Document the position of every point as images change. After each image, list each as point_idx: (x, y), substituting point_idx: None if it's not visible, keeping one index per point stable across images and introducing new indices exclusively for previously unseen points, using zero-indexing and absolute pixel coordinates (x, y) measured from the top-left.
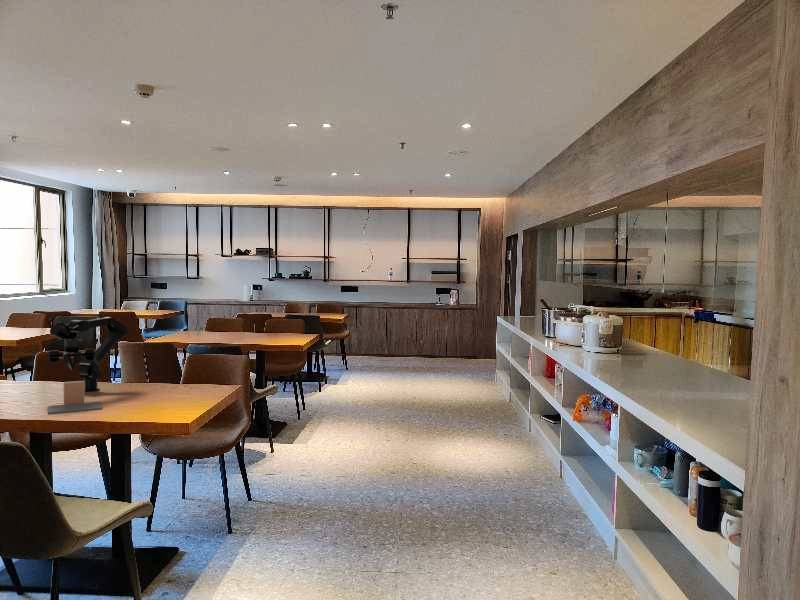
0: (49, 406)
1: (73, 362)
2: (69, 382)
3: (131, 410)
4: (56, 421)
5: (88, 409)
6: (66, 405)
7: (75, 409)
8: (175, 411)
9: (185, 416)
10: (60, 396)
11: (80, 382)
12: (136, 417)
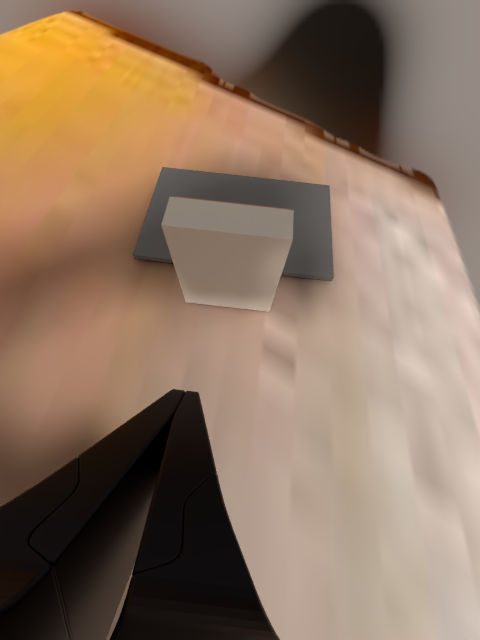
0: (326, 272)
1: (124, 463)
2: (258, 208)
3: (98, 127)
4: (304, 121)
5: (206, 173)
6: None
7: (244, 184)
8: (15, 73)
9: (33, 38)
10: (260, 596)
11: (194, 198)
12: (125, 73)
